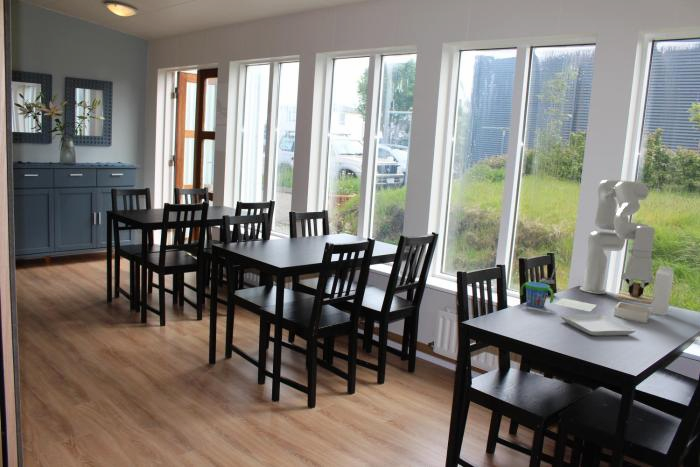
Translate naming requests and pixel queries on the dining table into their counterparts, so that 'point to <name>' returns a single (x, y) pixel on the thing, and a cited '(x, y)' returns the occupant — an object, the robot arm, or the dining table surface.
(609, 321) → the salad plate
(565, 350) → the dining table surface
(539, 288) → the snack cup
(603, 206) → the robot arm
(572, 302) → the mat
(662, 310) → the milk
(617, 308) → the cream square dish
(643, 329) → the dining table surface
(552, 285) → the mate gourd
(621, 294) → the lid
